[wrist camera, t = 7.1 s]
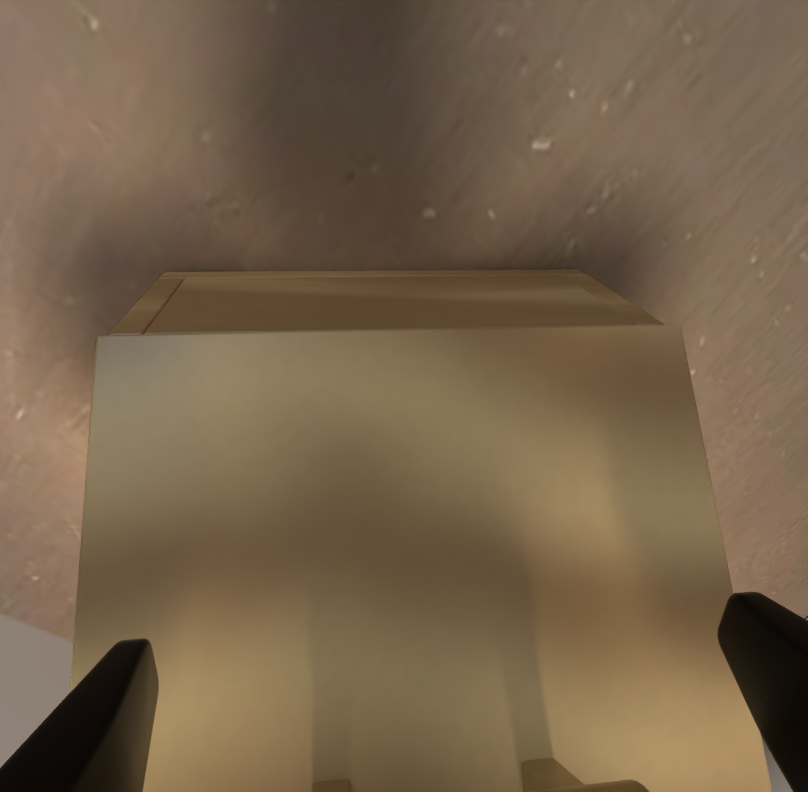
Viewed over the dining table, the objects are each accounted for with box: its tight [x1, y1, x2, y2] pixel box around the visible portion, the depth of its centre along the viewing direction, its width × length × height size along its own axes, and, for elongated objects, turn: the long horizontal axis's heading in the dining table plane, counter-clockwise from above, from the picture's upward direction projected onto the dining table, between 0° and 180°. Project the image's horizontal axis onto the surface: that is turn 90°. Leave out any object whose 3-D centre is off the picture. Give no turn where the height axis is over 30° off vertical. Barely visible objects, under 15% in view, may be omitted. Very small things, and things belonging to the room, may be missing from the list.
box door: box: [70, 324, 772, 792], centre depth 11 cm, size 11×14×5 cm
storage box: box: [108, 269, 664, 335], centre depth 20 cm, size 11×14×6 cm
